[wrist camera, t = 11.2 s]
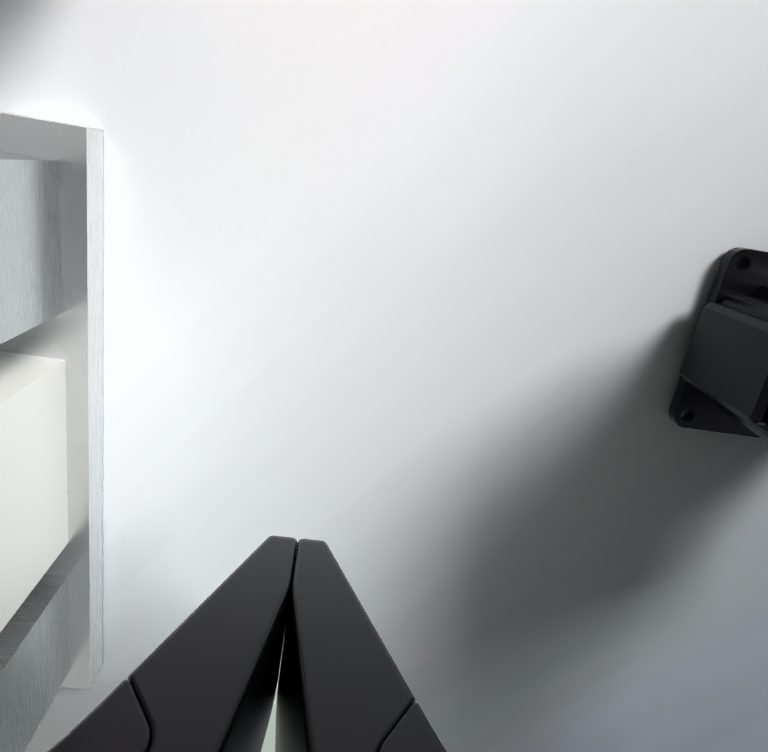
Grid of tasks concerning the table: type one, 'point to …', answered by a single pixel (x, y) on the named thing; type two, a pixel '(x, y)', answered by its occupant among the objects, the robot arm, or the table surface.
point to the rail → (83, 397)
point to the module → (31, 474)
